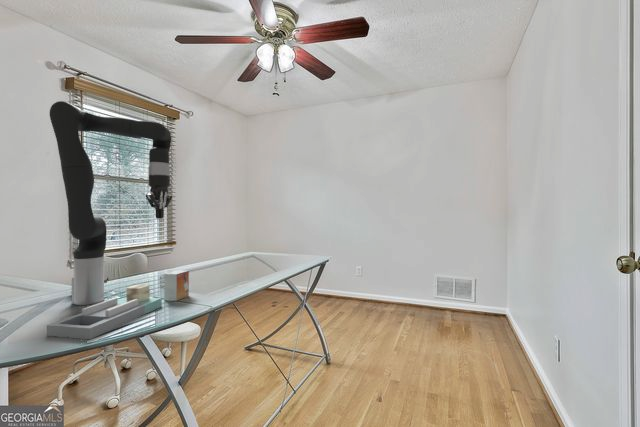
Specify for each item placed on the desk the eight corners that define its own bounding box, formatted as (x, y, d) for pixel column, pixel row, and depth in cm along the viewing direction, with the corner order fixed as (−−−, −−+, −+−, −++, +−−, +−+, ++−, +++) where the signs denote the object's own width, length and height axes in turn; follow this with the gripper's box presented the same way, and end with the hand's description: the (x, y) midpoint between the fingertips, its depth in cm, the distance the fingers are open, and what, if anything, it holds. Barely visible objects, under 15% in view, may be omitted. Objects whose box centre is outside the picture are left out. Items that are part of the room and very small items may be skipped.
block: (126, 302, 107) (126, 287, 107) (137, 298, 112) (137, 284, 112) (139, 302, 106) (139, 288, 106) (149, 298, 111) (149, 285, 111)
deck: (46, 335, 85) (46, 318, 85) (127, 304, 114) (127, 291, 114) (90, 339, 83) (90, 321, 83) (161, 306, 112) (161, 292, 112)
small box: (176, 301, 118) (176, 274, 118) (163, 300, 119) (163, 273, 119) (189, 295, 126) (189, 270, 125) (177, 295, 127) (177, 269, 127)
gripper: (161, 176, 128) (162, 218, 128) (138, 173, 115) (138, 218, 115) (178, 176, 127) (178, 218, 127) (156, 172, 114) (156, 219, 114)
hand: (159, 218), depth 121 cm, fingers closed
